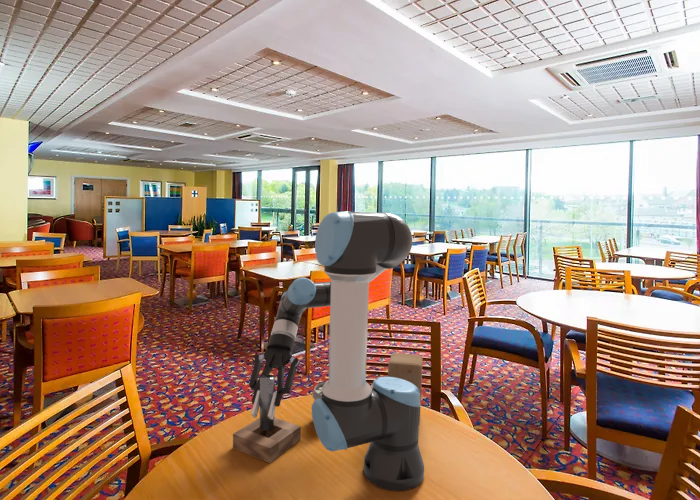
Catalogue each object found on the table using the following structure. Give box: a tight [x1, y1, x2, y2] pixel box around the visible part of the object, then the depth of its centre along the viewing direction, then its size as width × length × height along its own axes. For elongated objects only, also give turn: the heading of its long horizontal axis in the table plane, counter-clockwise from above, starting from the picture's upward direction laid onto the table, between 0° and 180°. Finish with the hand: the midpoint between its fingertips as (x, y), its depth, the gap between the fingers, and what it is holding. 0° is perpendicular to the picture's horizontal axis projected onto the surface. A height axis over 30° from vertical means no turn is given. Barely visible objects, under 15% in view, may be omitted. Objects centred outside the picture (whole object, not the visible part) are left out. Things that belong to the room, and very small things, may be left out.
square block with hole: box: [232, 417, 301, 464], centre depth 117 cm, size 13×13×4 cm
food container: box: [312, 381, 327, 401], centre depth 131 cm, size 12×6×10 cm, turn 172°
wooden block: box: [387, 352, 424, 424], centre depth 131 cm, size 10×10×20 cm
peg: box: [259, 374, 276, 430], centre depth 116 cm, size 4×4×14 cm
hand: (262, 416), depth 113 cm, fingers closed on peg, 4 cm apart
